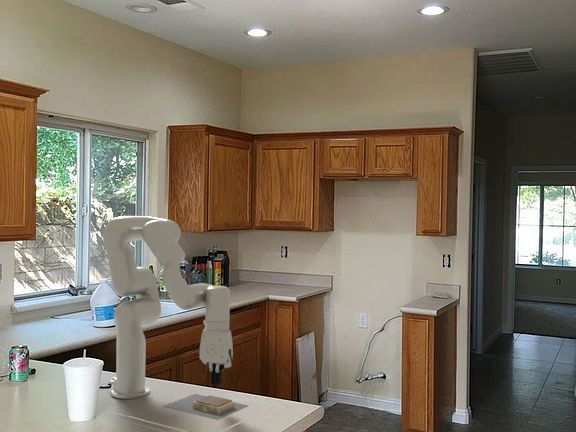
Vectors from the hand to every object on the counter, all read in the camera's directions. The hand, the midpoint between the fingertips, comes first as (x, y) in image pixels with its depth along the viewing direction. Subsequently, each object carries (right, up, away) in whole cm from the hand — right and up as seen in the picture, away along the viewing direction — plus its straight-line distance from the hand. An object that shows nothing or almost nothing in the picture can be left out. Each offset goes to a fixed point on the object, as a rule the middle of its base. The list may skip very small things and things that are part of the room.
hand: (216, 383), depth 197 cm
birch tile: (-5, -7, +3) cm, 9 cm away
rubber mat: (-4, -8, +2) cm, 9 cm away
